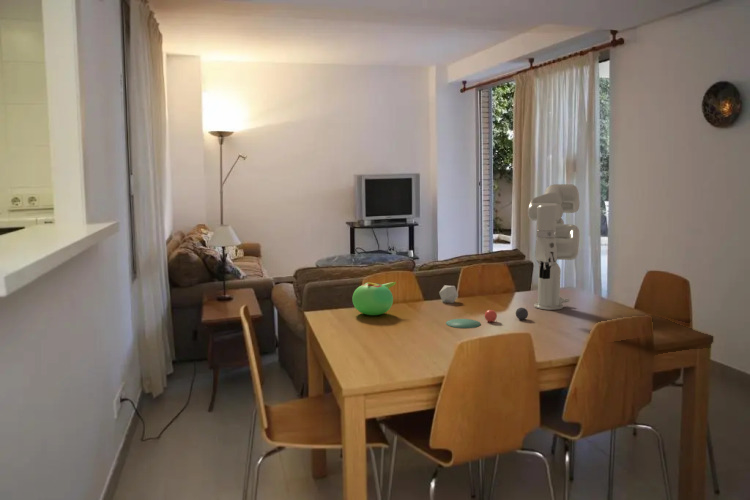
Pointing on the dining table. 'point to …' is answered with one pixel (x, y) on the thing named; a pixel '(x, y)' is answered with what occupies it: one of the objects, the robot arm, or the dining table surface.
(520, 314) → the black ball
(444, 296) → the die
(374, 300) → the green apple
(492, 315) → the red ball
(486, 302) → the dining table surface
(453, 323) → the green mark
